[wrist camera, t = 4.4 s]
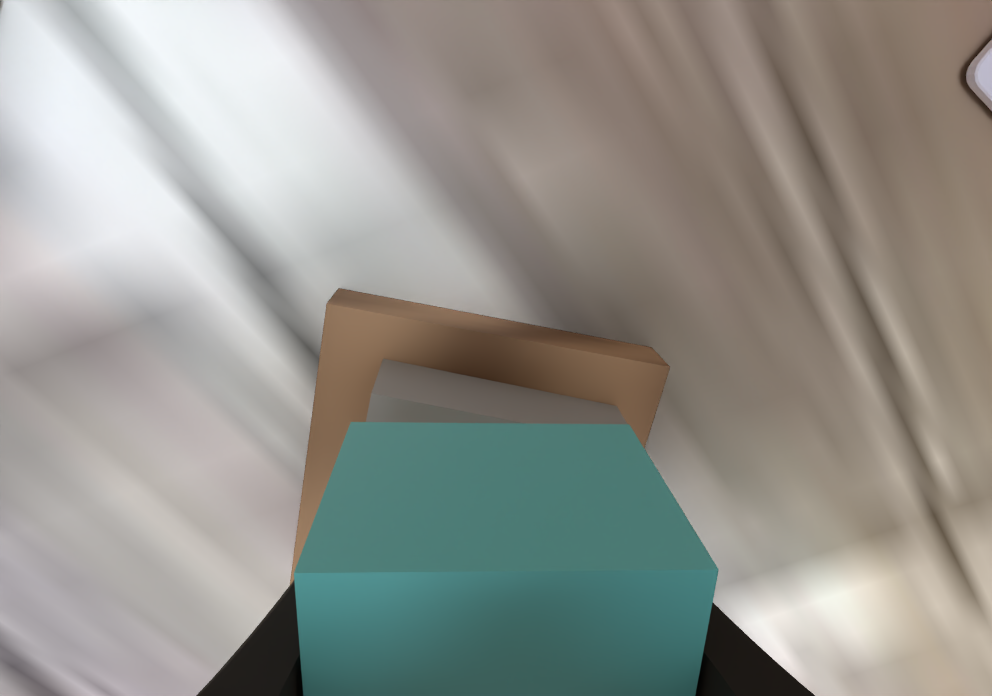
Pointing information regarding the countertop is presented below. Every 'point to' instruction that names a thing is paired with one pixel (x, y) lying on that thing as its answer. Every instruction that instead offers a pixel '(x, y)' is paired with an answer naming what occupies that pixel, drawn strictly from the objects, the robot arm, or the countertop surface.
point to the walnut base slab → (459, 370)
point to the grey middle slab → (473, 400)
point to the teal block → (500, 566)
